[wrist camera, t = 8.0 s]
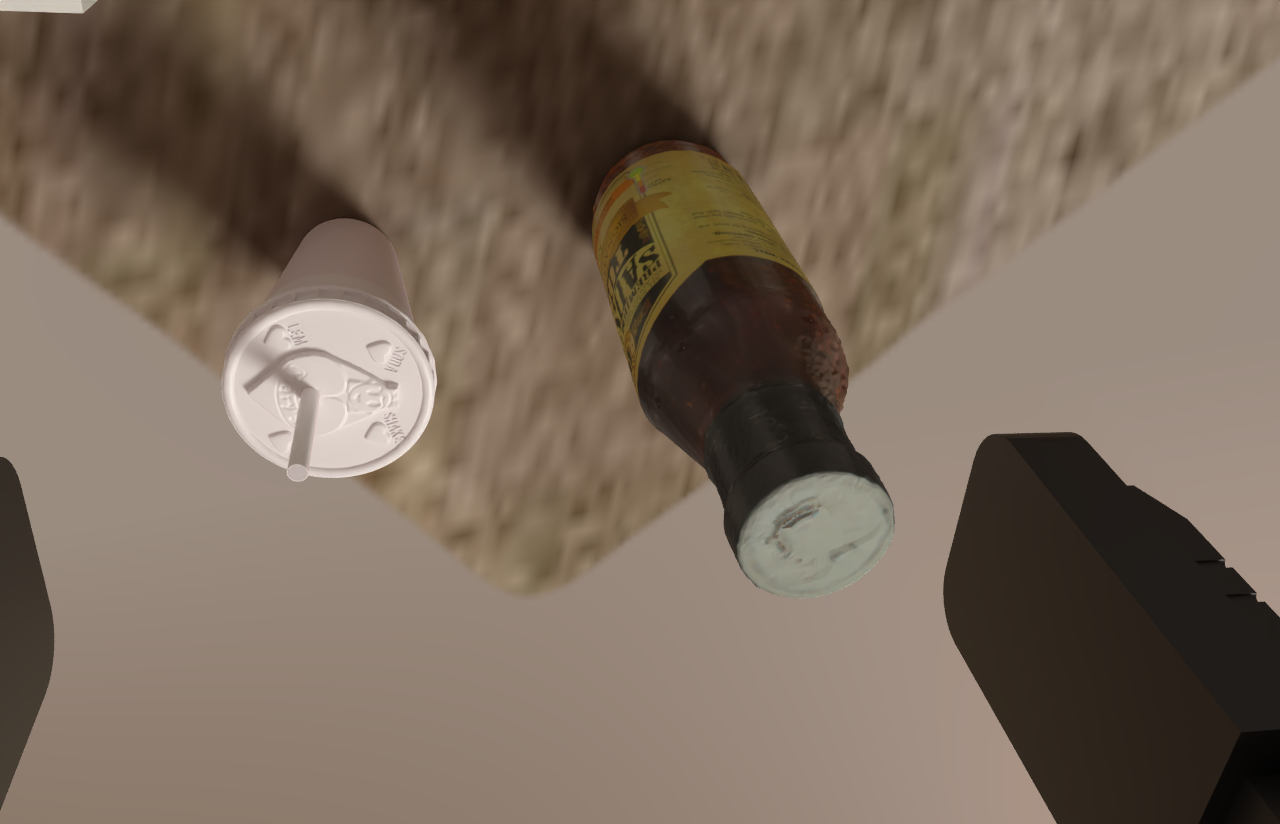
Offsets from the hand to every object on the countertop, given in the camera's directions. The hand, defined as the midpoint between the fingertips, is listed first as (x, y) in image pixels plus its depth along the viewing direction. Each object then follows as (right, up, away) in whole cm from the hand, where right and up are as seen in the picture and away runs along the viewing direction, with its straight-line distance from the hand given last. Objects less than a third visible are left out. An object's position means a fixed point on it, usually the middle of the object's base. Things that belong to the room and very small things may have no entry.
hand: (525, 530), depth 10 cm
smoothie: (-10, +7, +33) cm, 36 cm away
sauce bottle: (+2, +9, +34) cm, 36 cm away
